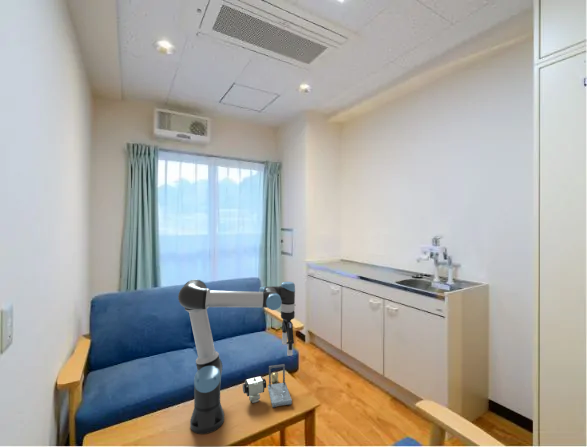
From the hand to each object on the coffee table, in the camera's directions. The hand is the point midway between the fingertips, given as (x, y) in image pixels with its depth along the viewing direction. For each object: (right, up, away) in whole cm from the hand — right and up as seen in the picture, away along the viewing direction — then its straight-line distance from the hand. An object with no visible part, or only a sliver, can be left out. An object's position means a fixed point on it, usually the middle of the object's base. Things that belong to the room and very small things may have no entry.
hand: (287, 349), depth 150 cm
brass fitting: (-8, -24, +11) cm, 28 cm away
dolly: (-4, -24, -3) cm, 25 cm away
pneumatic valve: (-17, -24, -6) cm, 30 cm away
